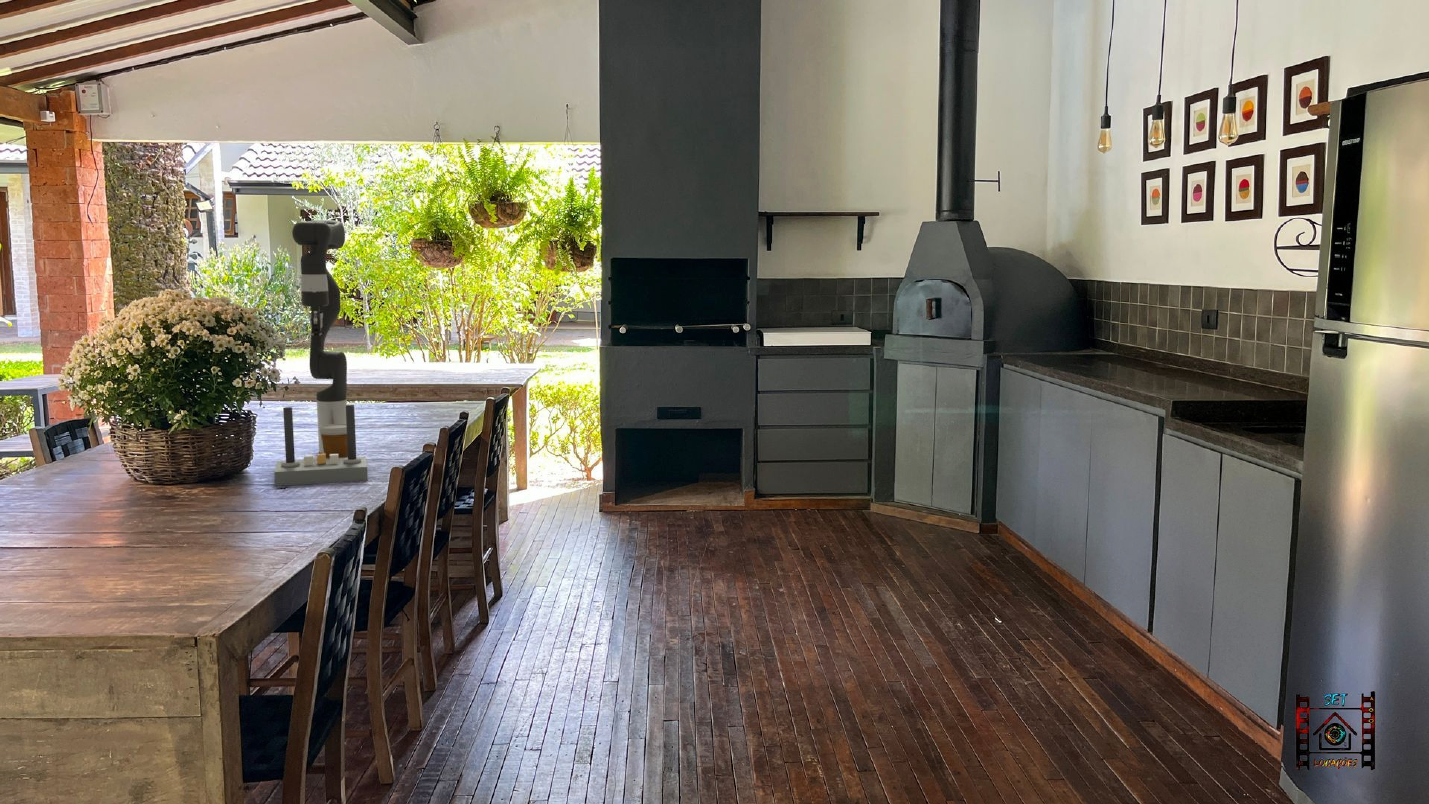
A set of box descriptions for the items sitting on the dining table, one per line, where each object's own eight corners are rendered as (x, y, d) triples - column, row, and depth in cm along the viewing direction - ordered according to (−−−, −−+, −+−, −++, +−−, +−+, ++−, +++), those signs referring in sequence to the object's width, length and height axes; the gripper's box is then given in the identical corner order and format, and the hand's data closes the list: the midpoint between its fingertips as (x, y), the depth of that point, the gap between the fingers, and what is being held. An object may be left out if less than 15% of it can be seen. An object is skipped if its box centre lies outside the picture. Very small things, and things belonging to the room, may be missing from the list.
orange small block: (317, 462, 316) (316, 453, 316) (326, 462, 317) (325, 453, 316) (317, 463, 314) (316, 455, 314) (325, 463, 315) (325, 454, 315)
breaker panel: (277, 474, 320) (276, 452, 319) (366, 469, 328) (365, 447, 327) (274, 485, 305) (273, 463, 304) (367, 480, 313) (366, 458, 312)
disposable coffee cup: (346, 467, 330) (345, 428, 329) (315, 466, 331) (314, 428, 329) (357, 461, 340) (355, 423, 338) (327, 460, 340) (325, 423, 338)
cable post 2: (343, 461, 320) (340, 404, 317) (361, 460, 321) (358, 403, 319) (343, 464, 315) (340, 406, 313) (361, 463, 317) (359, 406, 314)
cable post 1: (281, 464, 314) (278, 406, 312) (300, 463, 316) (297, 406, 313) (280, 467, 310) (277, 409, 307) (299, 466, 311) (296, 408, 309)
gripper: (301, 288, 324) (304, 346, 327) (300, 290, 312) (303, 350, 315) (328, 288, 327) (330, 345, 329) (327, 290, 314) (330, 349, 317)
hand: (317, 347), depth 322 cm, fingers closed
